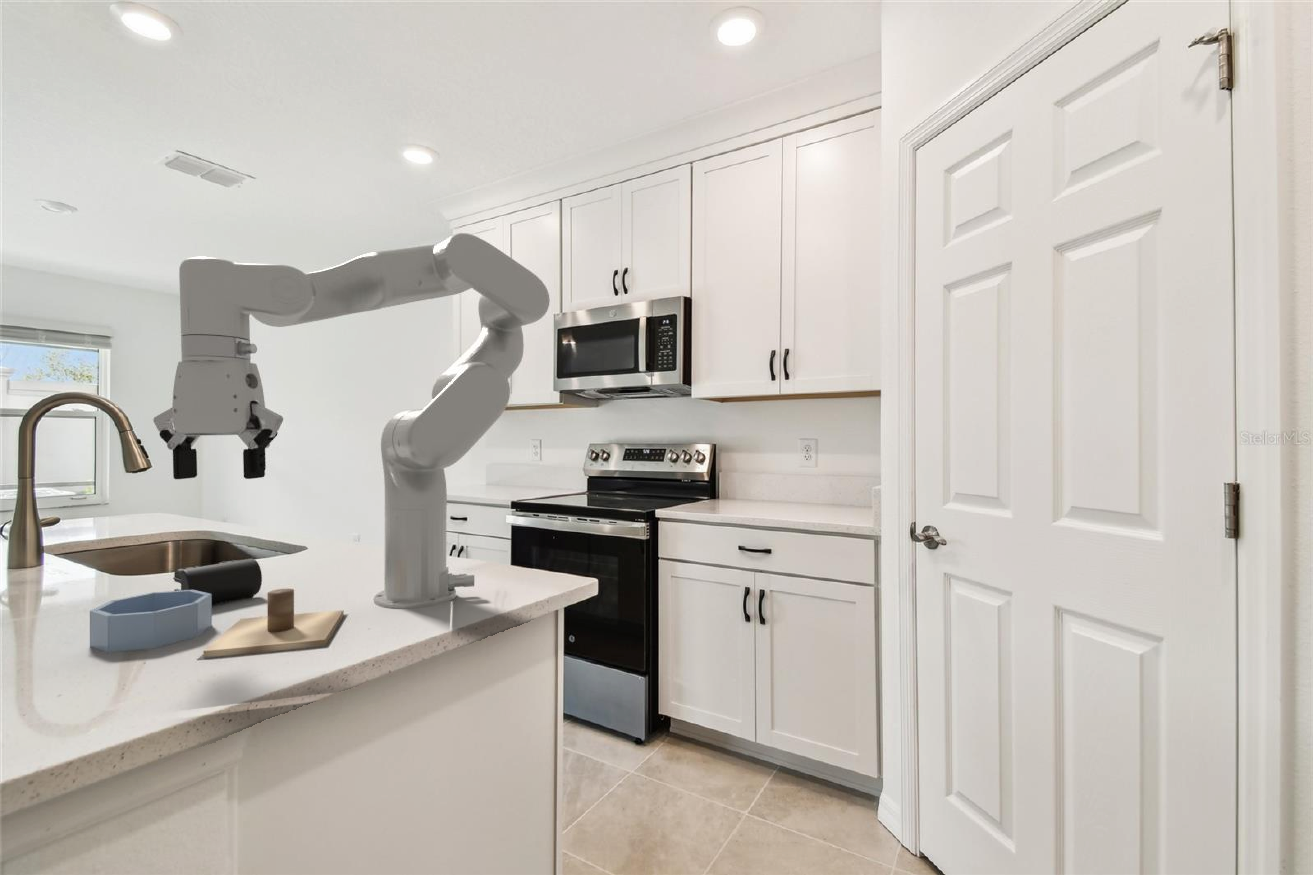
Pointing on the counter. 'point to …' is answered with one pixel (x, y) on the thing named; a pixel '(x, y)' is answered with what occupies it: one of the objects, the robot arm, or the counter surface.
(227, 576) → the end cap
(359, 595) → the counter surface
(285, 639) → the lid
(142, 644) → the bowl
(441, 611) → the counter surface
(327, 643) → the mat
